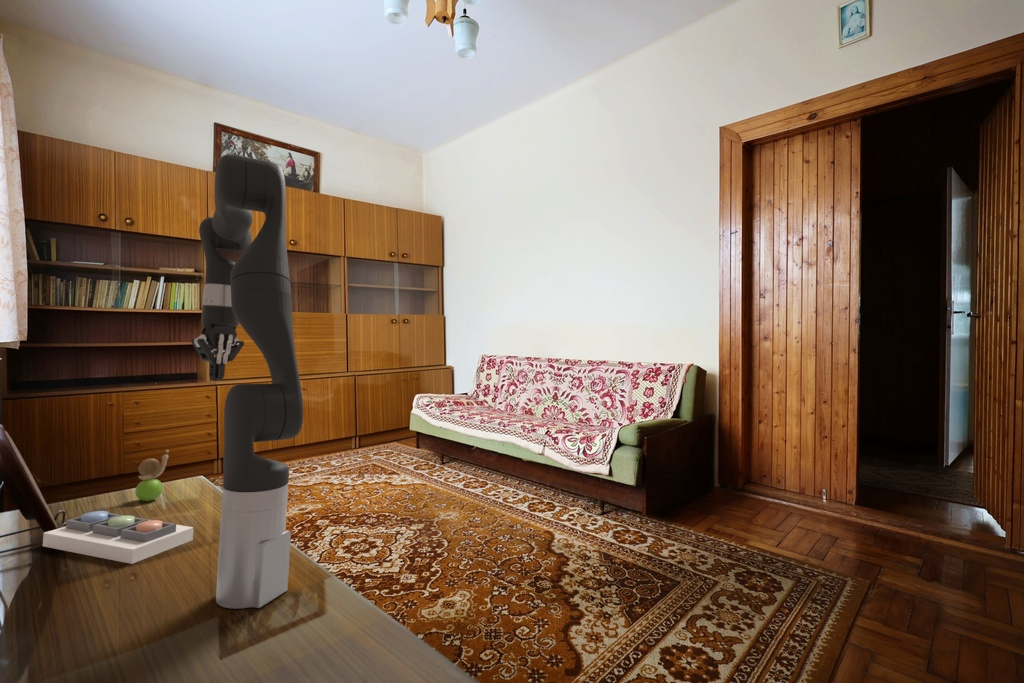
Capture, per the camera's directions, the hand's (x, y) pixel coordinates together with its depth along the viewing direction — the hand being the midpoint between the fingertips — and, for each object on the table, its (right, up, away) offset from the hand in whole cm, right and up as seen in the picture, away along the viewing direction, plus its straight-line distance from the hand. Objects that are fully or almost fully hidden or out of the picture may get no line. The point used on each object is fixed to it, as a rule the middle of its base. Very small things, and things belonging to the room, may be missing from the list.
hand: (216, 380), depth 112 cm
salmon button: (-1, -28, -20) cm, 34 cm away
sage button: (-8, -28, -18) cm, 34 cm away
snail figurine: (-22, -31, +9) cm, 39 cm away
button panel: (-8, -30, -18) cm, 36 cm away
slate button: (-15, -27, -16) cm, 35 cm away
